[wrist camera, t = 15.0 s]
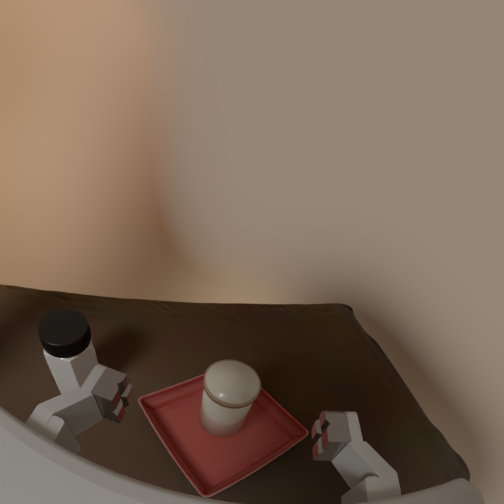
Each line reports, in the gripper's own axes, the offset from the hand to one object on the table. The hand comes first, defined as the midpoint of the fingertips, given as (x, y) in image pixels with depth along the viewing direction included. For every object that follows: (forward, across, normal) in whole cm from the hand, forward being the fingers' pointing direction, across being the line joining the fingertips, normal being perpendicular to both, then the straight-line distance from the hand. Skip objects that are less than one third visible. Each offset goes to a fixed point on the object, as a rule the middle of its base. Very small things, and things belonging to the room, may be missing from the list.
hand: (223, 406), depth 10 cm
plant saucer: (+15, 0, +28) cm, 32 cm away
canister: (+15, 0, +25) cm, 29 cm away
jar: (+16, +24, +28) cm, 40 cm away
